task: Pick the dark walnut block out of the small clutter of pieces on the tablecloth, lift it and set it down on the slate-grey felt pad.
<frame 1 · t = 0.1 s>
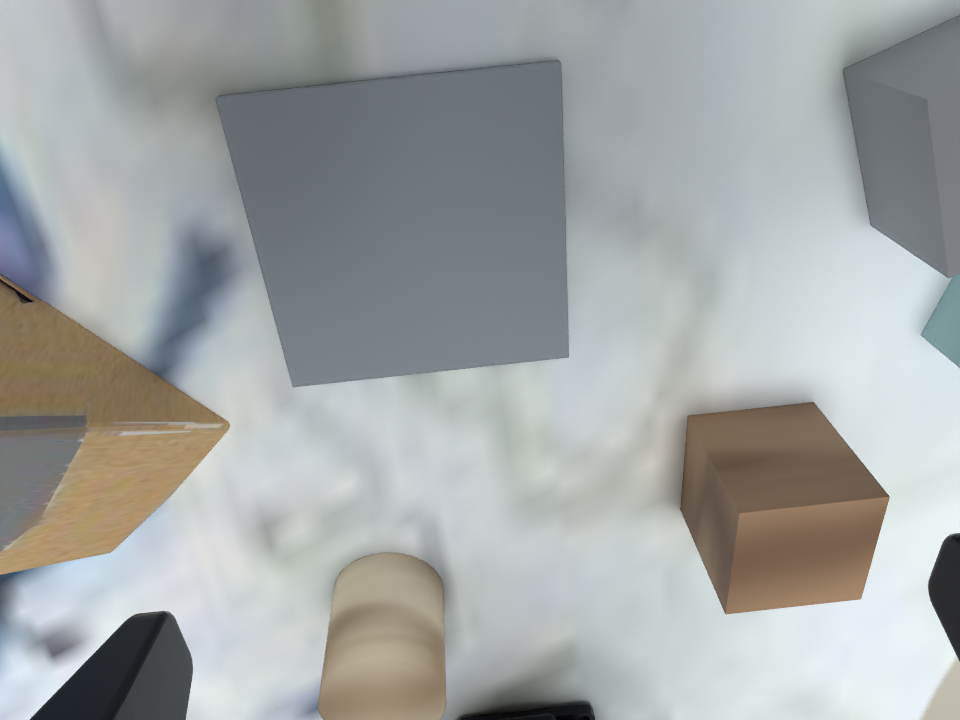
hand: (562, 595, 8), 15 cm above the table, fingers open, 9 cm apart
felt pad: (412, 237, 21), on the table
walnut block: (743, 457, 27), on the table
beech cylinder: (389, 591, 29), on the table
charcoal block: (941, 112, 21), on the table
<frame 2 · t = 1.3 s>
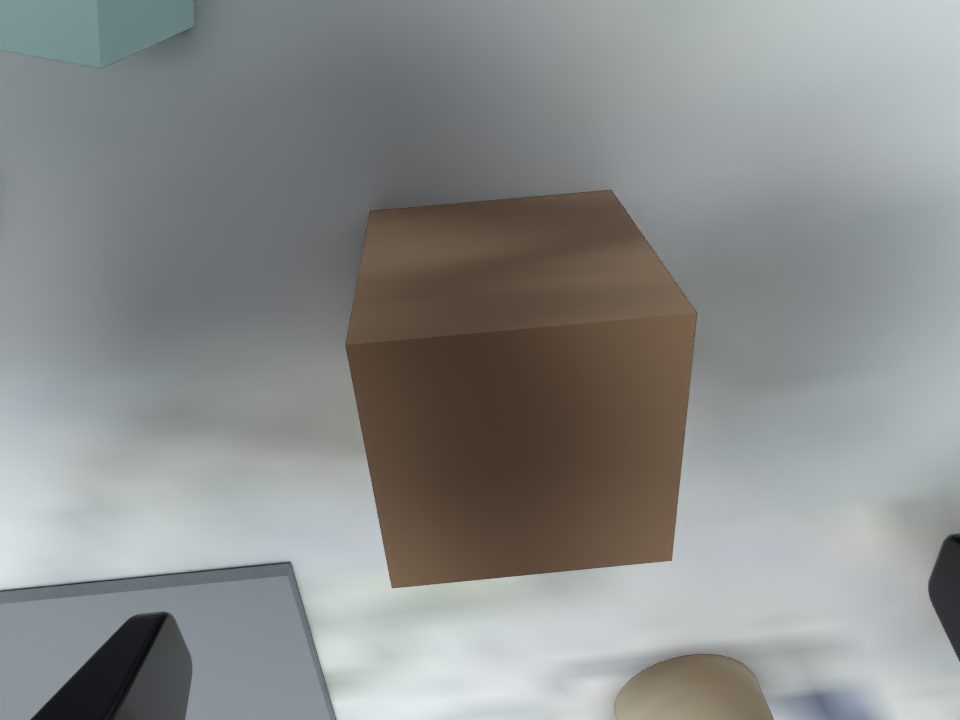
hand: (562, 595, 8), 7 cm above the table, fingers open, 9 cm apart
felt pad: (161, 692, 20), on the table
walnut block: (497, 306, 15), on the table
beech cylinder: (685, 700, 22), on the table
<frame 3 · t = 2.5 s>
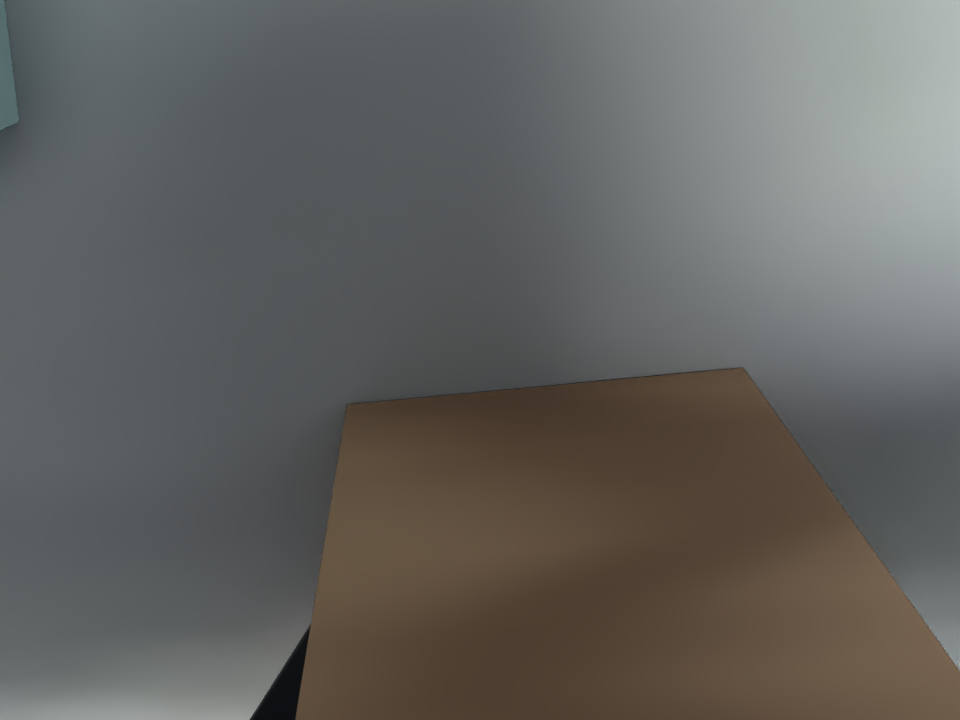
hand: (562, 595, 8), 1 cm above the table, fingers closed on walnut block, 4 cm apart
walnut block: (549, 531, 9), on the table, touching gripper
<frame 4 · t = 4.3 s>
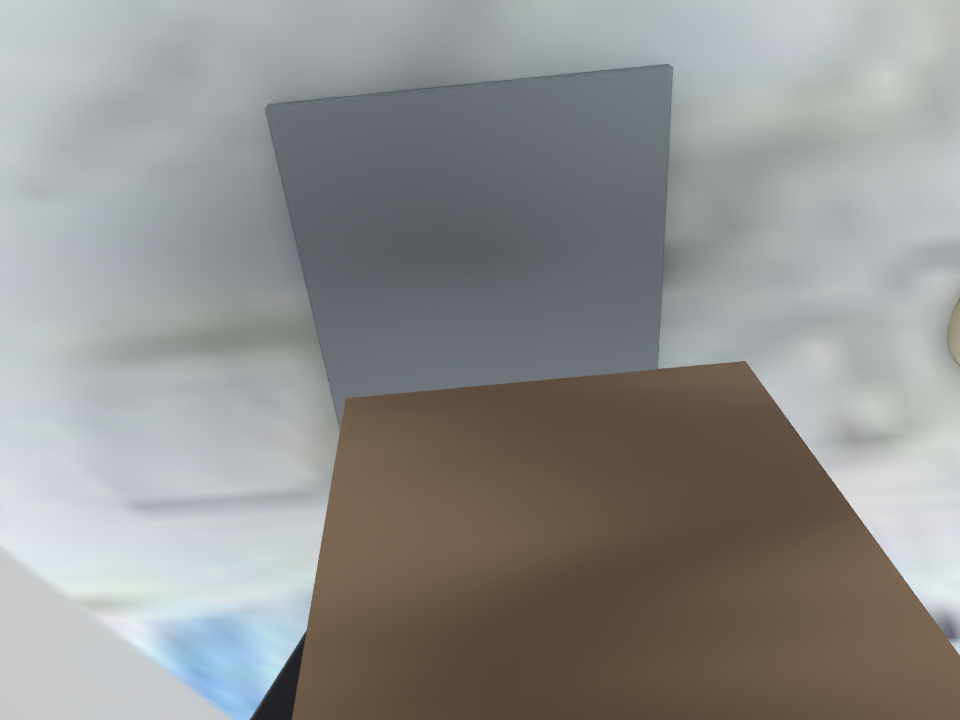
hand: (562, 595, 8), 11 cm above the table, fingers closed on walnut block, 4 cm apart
felt pad: (484, 267, 19), on the table
walnut block: (550, 526, 9), point 10 cm above the table, touching gripper
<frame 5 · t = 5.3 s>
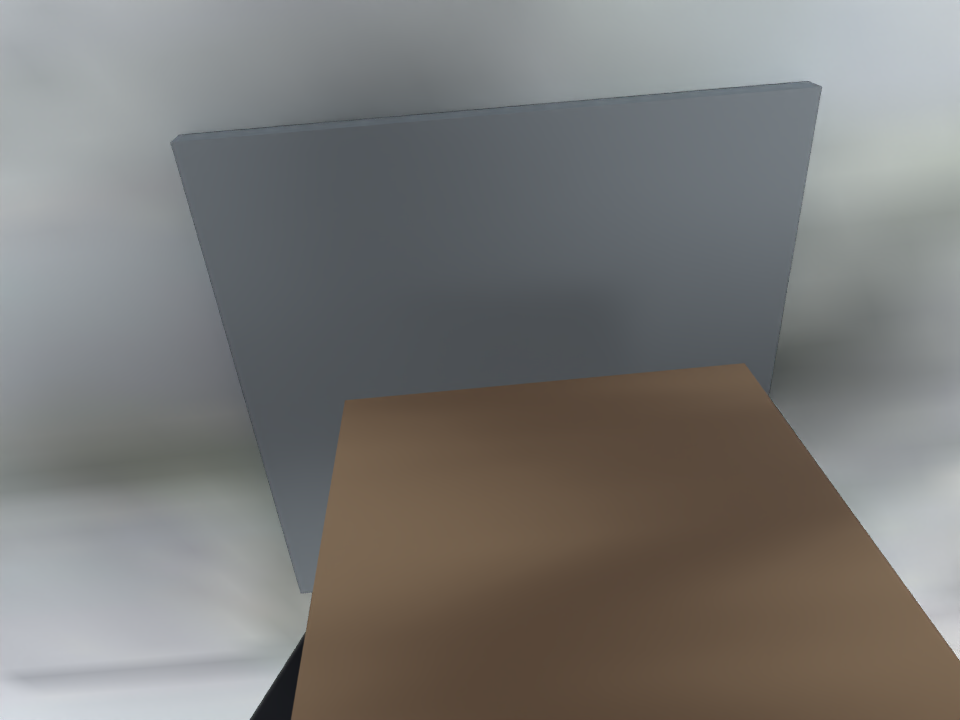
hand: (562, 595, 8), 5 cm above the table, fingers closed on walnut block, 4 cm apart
felt pad: (511, 373, 13), on the table
walnut block: (549, 528, 9), point 4 cm above the table, touching gripper
when the fingers open (3 cm above the table, at t = 6.0 s): walnut block drops 1 cm, resting on felt pad.
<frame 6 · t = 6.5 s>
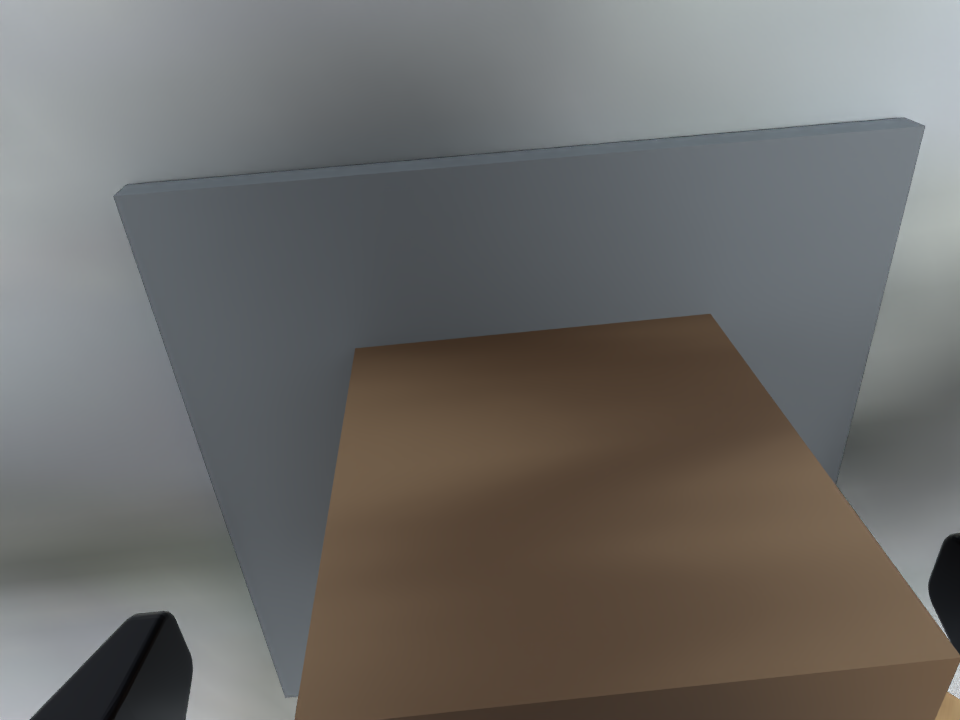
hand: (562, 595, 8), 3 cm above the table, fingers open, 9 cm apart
felt pad: (531, 456, 11), on the table
walnut block: (539, 468, 10), resting on felt pad
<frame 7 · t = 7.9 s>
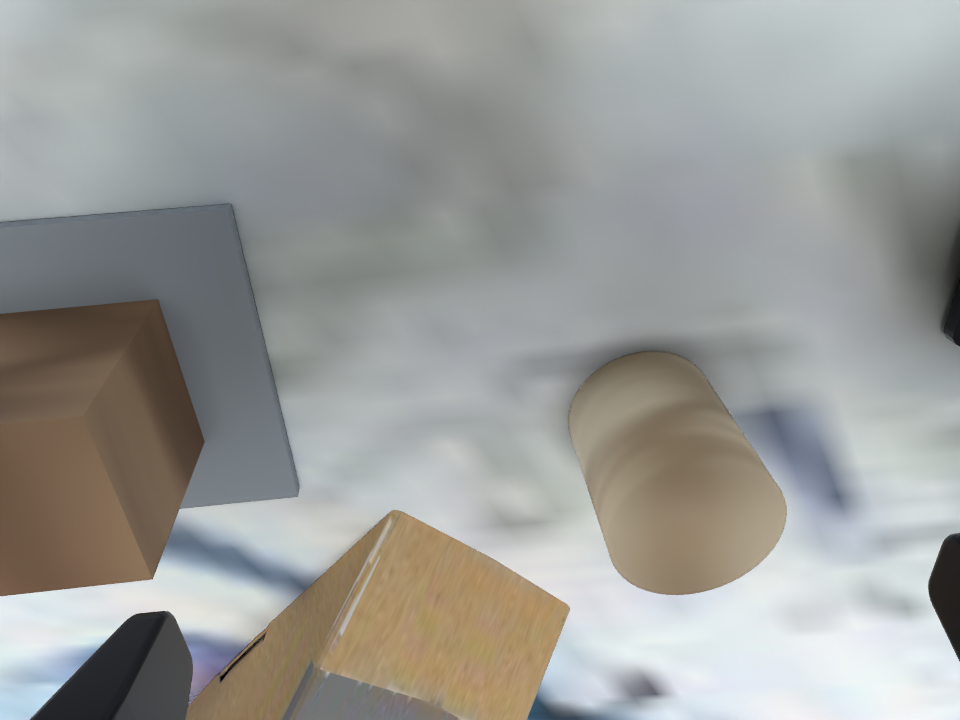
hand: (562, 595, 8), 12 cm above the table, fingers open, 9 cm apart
sandwich container: (359, 667, 27), on the table
felt pad: (100, 378, 19), on the table
walnut block: (96, 383, 19), resting on felt pad
beech cylinder: (640, 413, 22), on the table
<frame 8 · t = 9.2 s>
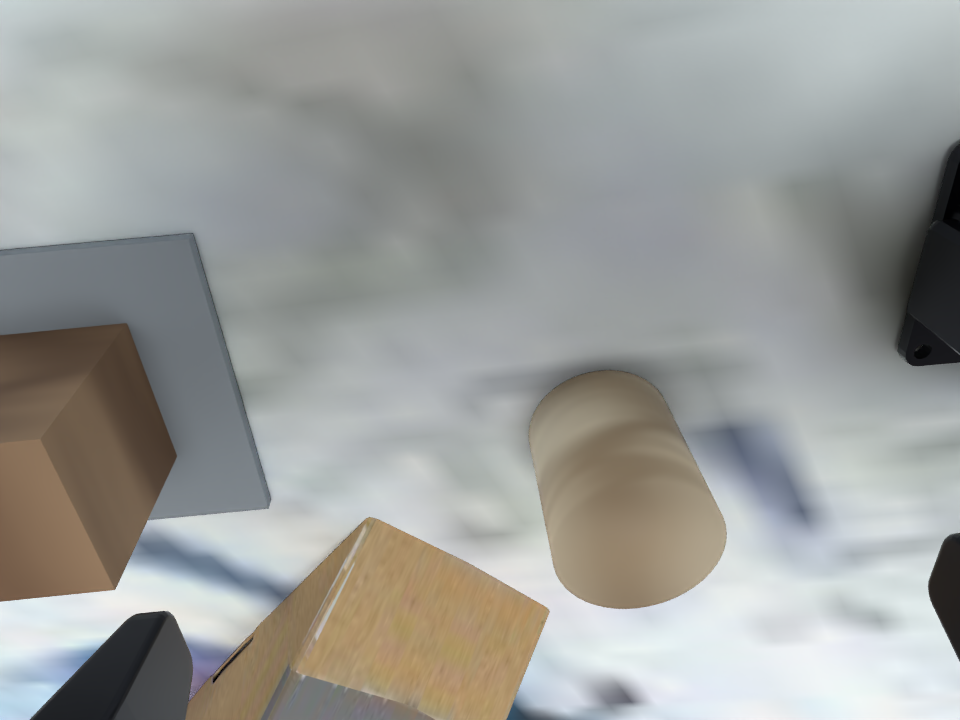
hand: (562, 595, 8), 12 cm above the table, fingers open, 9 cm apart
sandwich container: (347, 669, 28), on the table
felt pad: (77, 396, 21), on the table
walnut block: (72, 401, 20), resting on felt pad
beech cylinder: (599, 430, 22), on the table
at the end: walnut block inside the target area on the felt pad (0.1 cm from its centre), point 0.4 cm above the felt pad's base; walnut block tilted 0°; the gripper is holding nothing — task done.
